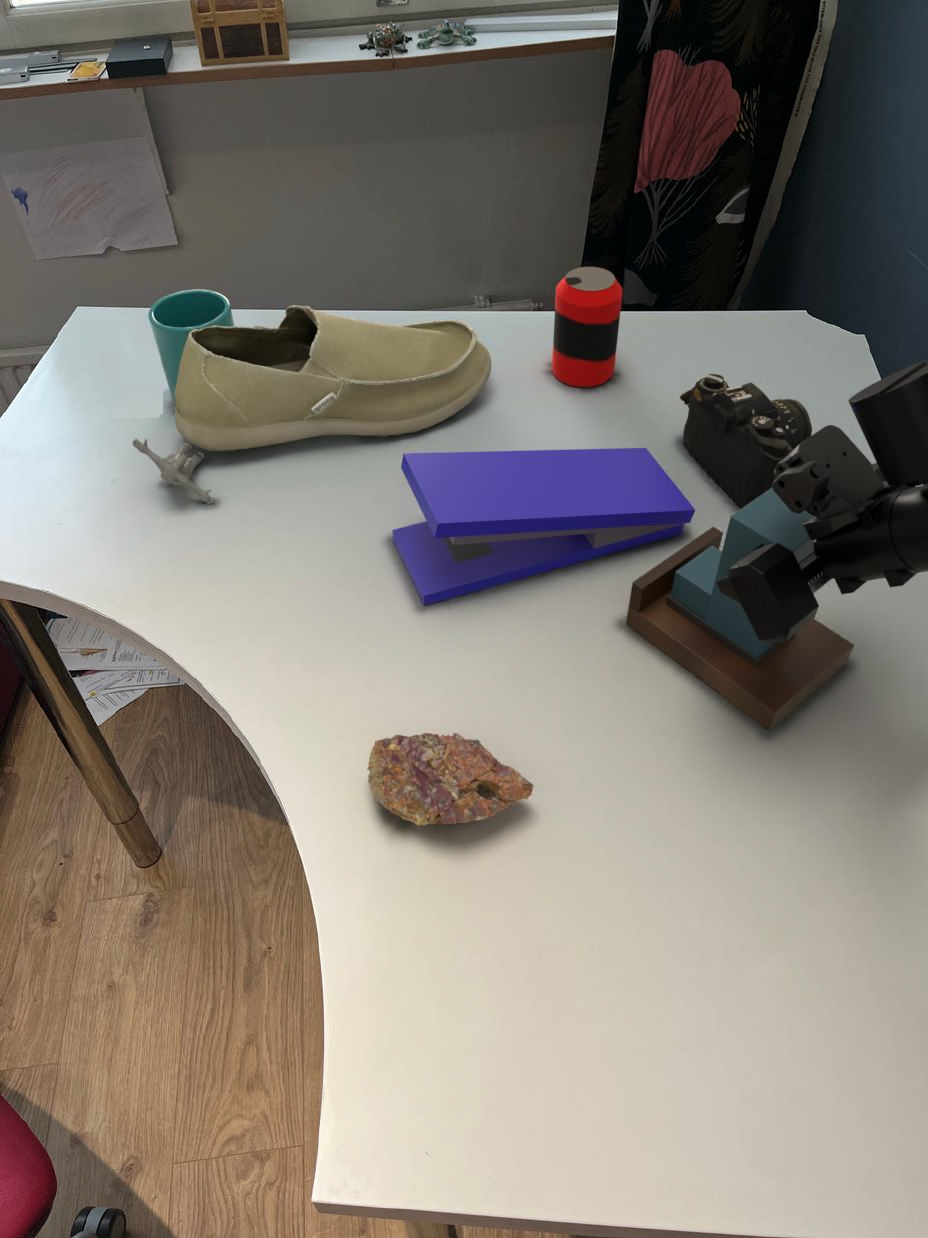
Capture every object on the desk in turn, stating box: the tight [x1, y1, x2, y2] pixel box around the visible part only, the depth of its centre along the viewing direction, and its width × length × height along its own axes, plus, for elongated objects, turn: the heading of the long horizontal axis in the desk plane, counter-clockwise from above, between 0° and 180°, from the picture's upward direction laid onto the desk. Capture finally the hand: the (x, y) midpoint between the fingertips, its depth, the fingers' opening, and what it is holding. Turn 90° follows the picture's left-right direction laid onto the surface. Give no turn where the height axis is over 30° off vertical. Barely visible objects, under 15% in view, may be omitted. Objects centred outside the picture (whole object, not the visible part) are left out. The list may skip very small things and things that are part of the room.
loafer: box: [174, 305, 492, 452], centre depth 103 cm, size 14×37×13 cm, turn 112°
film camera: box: [679, 373, 813, 509], centre depth 96 cm, size 18×12×10 cm
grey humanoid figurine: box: [131, 438, 215, 505], centre depth 98 cm, size 10×6×9 cm
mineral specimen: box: [366, 732, 534, 827], centre depth 71 cm, size 12×8×7 cm
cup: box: [147, 289, 236, 405], centre depth 109 cm, size 9×12×11 cm
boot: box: [666, 487, 816, 667], centre depth 77 cm, size 10×6×13 cm, turn 41°
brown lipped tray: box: [625, 526, 855, 731], centre depth 81 cm, size 16×11×6 cm
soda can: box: [551, 266, 623, 388], centre depth 109 cm, size 8×8×12 cm
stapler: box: [391, 447, 696, 606], centre depth 90 cm, size 12×28×10 cm, turn 110°
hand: (751, 563), depth 76 cm, fingers open, 8 cm apart
